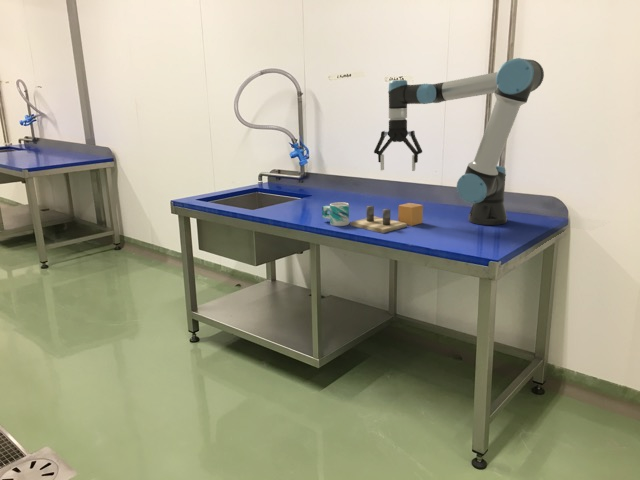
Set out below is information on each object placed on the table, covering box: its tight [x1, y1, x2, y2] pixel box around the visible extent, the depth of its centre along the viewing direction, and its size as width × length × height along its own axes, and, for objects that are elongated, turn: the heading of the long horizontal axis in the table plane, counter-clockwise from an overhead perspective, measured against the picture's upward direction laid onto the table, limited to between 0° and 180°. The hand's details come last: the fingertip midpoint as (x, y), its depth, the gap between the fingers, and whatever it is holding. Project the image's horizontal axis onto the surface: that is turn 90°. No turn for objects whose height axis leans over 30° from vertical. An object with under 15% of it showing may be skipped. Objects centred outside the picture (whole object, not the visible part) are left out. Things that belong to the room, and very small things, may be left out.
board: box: [349, 205, 408, 234], centre depth 216 cm, size 18×14×8 cm
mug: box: [321, 201, 350, 227], centre depth 224 cm, size 8×12×8 cm
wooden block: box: [397, 202, 424, 227], centre depth 220 cm, size 7×7×8 cm
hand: (397, 170), depth 227 cm, fingers open, 13 cm apart
